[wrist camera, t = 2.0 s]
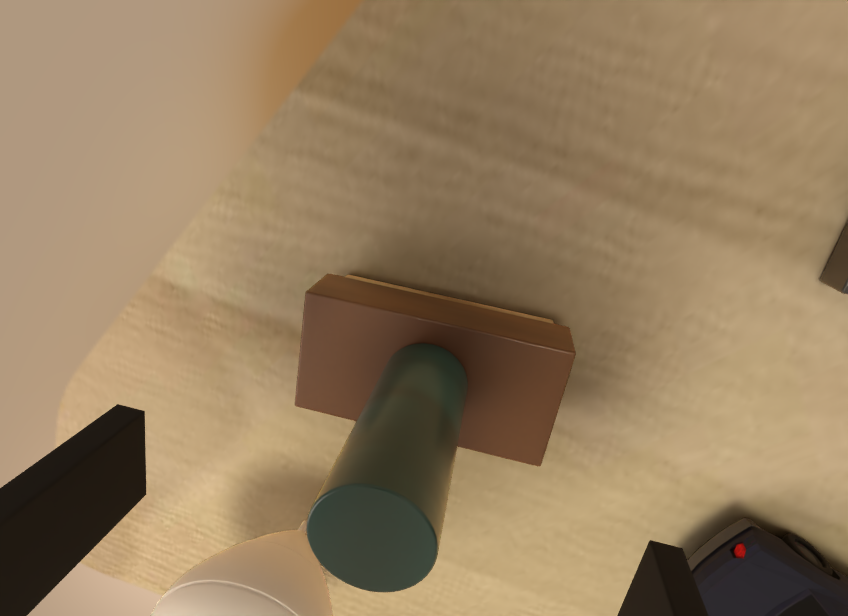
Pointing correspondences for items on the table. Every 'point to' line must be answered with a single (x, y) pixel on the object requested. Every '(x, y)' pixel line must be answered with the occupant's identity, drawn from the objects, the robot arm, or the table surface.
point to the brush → (416, 413)
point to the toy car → (766, 575)
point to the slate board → (838, 266)
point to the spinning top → (253, 581)
